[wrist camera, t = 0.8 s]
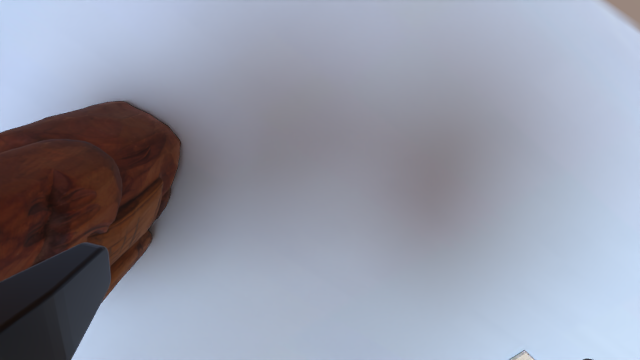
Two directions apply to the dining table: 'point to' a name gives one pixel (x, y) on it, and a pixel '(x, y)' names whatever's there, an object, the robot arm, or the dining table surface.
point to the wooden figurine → (84, 185)
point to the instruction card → (523, 356)
